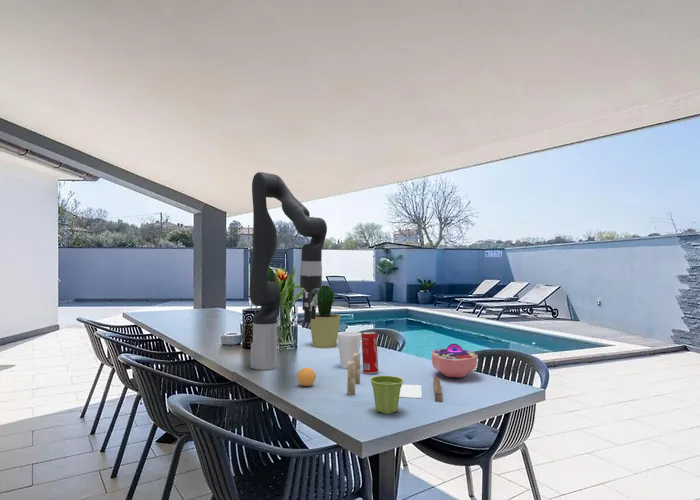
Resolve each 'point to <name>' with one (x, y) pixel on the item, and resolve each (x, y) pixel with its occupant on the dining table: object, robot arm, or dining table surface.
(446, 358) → the cell model
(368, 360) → the beverage can
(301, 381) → the ball
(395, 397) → the plant pot
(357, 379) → the post
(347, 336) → the foam cup
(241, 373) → the dining table surface
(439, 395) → the wall
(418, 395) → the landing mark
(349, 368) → the post
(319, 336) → the potted cactus
